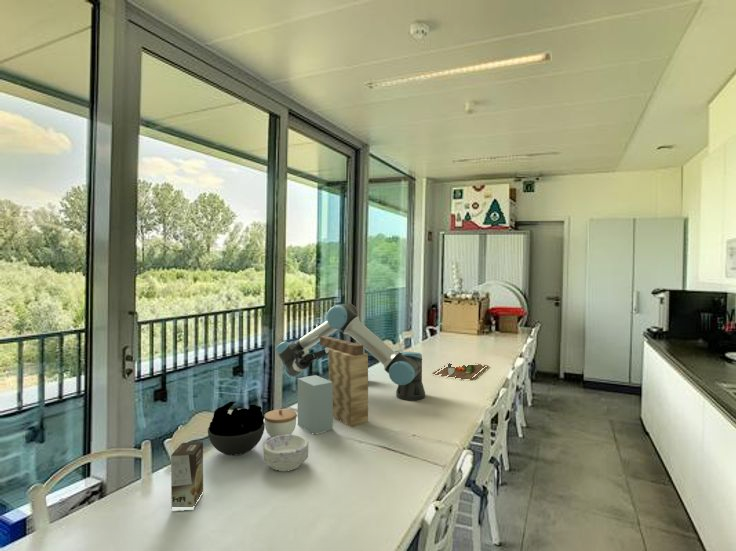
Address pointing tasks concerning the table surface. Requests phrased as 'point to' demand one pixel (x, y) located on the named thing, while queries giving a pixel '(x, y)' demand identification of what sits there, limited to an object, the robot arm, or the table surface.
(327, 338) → the walnut block
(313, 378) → the base block
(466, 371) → the chopping board
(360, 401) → the tall stand
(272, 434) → the lidded bowl
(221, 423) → the coal bowl
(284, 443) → the paper bowls
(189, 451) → the coffee box
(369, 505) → the table surface
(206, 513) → the table surface
